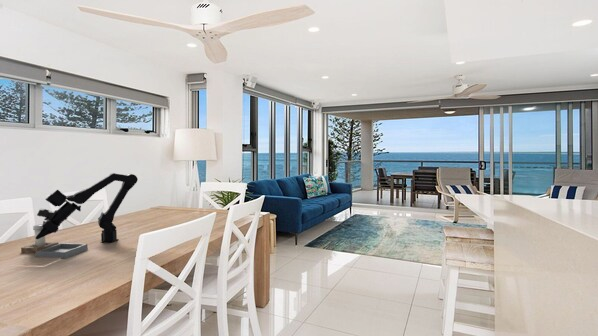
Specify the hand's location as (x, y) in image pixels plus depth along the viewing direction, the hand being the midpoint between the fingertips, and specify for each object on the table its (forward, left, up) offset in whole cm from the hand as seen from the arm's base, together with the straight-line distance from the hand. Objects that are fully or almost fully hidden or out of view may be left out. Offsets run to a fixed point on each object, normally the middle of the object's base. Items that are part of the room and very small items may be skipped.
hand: (36, 237), depth 154 cm
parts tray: (-15, +2, -7) cm, 17 cm away
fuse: (-1, -1, -6) cm, 6 cm away
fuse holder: (-1, -1, -7) cm, 7 cm away
